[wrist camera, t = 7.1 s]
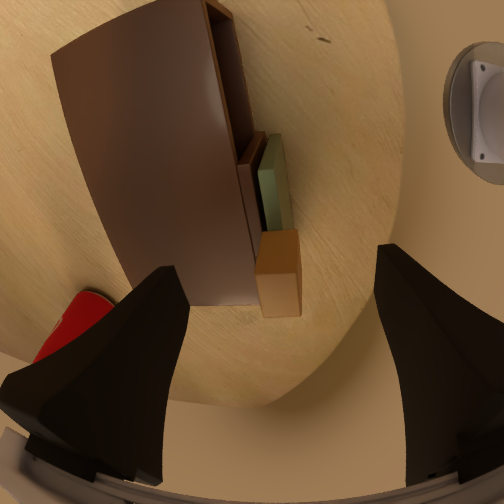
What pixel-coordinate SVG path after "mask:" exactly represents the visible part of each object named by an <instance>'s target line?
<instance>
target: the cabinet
mask: <svg viewBox="0 0 504 504" xmlns="http://www.w3.org/2000/svg"><path fill="white" fill-rule="evenodd" d="M51 61H52V66H53V71H54V76H55V80H56V85H57V89H58V93H59V97H60V101H61V105H62V109H63V112H64V116H65V120H66V123H67V127H68V130H69V133H70V137H71V140H72V143H73V146H74V149H75V153H76V156H77V159H78V162H79V164H80V167H81V170H82V173H83V176H84V179H85V181H86V184H87V187H88V189H89V192H90V195H91V197H92V200H93V202H94V205H95V207H96V210H97V212H98V215H99V217H100V220H101V222H102V224H103V227H104V229H105V231H106V234H107V236H108V238H109V240H110V243H111V245H112V247H113V249H114V251H115V254H116V256H117V258H118V260H119V262H120V264H121V266H122V268H123V270H124V272H125V274H126V276H127V278H128V280H129V282H130V284H131V286H132V288H133V289H134V288H135V287H136V286H138V285H139V284H140V283H141V282H142V281H143V280H144V279H145V278H146V277H147V276H148V275H150V274H151V273H152V272H153V271H154V270H155V269H157V268H158V267H160V266H171V265H174V267H175V269H176V272H177V275H178V277H179V280H180V282H181V285H182V287H183V290H184V292H185V295H186V297H187V300H188V302H189V305H190V306H236V305H260V301H259V296H258V291H257V287H256V282H255V278H254V271H255V266H256V261H257V256H258V251H259V246H260V241H261V236H262V232H265V231H268V230H267V224H266V218H265V212H264V206H263V200H262V195H261V189H260V183H259V177H258V169H259V166H260V163H261V160H262V157H263V154H264V151H265V149H266V146H267V142H266V136H265V132H264V131H262V132H256V133H255V129H254V124H253V118H252V113H251V107H250V102H249V97H248V91H247V86H246V81H245V76H244V71H243V66H242V60H241V55H240V50H239V45H238V40H237V36H236V31H235V26H234V21H233V16H232V13H231V12H230V11H229V10H228V9H226V8H225V7H224V6H223V5H222V4H220V3H219V2H218V1H217V0H157V1H154V2H151V3H149V4H146V5H144V6H141V7H139V8H136V9H134V10H132V11H129V12H127V13H125V14H123V15H121V16H118V17H116V18H114V19H112V20H110V21H108V22H106V23H104V24H102V25H100V26H98V27H96V28H94V29H93V30H91V31H89V32H87V33H85V34H83V35H82V36H80V37H78V38H77V39H75V40H73V41H72V42H70V43H68V44H67V45H65V46H63V47H62V48H60V49H59V50H57V51H56V52H54V53H53V54H51Z"/></svg>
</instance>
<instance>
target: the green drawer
mask: <svg viewBox="0 0 504 504" xmlns="http://www.w3.org/2000/svg"><path fill="white" fill-rule="evenodd" d="M258 177H259V183H260V189H261V195H262V200H263V206H264V212H265V218H266V224H267V230H268V231H265V232H262V236H261V241H260V246H259V251H258V256H257V261H256V266H255V271H254V278H255V282H256V287H257V291H258V296H259V301H260V305H261V310H262V315H263V317H264V318H278V317H300V316H301V315H302V265H301V255H300V245H299V235H298V230H297V229H294V226H293V217H292V209H291V201H290V193H289V185H288V178H287V170H286V163H285V156H284V149H283V142H282V135H281V134H274V135H270V137H269V140H268V143H267V146H266V149H265V151H264V154H263V157H262V160H261V163H260V166H259V169H258Z"/></svg>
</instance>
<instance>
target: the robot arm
mask: <svg viewBox="0 0 504 504" xmlns="http://www.w3.org/2000/svg"><path fill="white" fill-rule="evenodd" d="M480 65H482V67H483V70H481V68H480ZM470 68H471V83H472V139H471V159H472V160H473V161H475V162H484V163H499V164H504V67H502V66H499V65H495V64H491V63H487V62H483V61H478V60H472V61H471V63H470ZM481 153H482V157H481V158H480V154H481ZM374 295H375V300H376V304H377V308H378V313H379V317H380V319H381V323H382V326H383V329H384V332H385V335H386V338H387V341H388V344H389V347H390V350H391V353H392V356H393V359H394V362H395V366H396V369H397V373H398V378H399V384H400V390H401V396H402V404H403V412H404V422H405V436H406V487H405V488H401V489H396V490H392V491H388V492H383V493H378V494H372V495H367V496H362V497H354V498H347V499H339V500H329V501H318V502H300V503H254V502H253V503H252V502H238V501H226V500H216V499H208V498H201V497H194V496H188V495H182V494H177V493H171V492H167V491H162V490H157V489H153V488H149V487H145V486H141V485H137V484H134V483H130V482H127V481H124V480H128V481H131V482H134V481H135V482H139V483H143V484H146V485H151V486H157V485H159V484H161V483H162V482H163V478H162V449H163V432H164V422H165V414H166V407H167V400H168V394H169V388H170V384H171V380H172V376H173V373H174V370H175V366H176V363H177V360H178V356H179V353H180V350H181V347H182V343H183V340H184V336H185V333H186V329H187V324H188V318H189V311H190V305H189V302H188V300H187V297H186V295H185V292H184V290H183V287H182V285H181V282H180V280H179V277H178V275H177V272H176V269H175V267H174V265H171V266H160V267H158V268H157V269H155V270H154V271H153V272H152V273H151V274H150V275H148V276H147V277H146V278H145V279H144V280H143V281H142V282H141V283H140V284H139V285H138V286H136V287H135V288H134V289H133V290H132V291H131V292H130V293H129V294H128V295H127V296H126V297H125V298H124V299H123V300H121V301H120V302H119V303H118V304H117V305H116V306H115V307H114V308H112V309H111V310H110V311H109V312H108V313H107V314H106V315H105V316H103V317H102V318H101V319H100V320H99V321H98V322H96V323H95V324H94V325H93V326H91V327H90V328H89V329H87V330H86V331H85V332H84V333H82V334H81V335H79V336H78V337H77V338H75V339H74V340H72V341H71V342H69V343H68V344H66V345H65V346H63V347H62V348H60V349H59V350H57V351H55V352H54V353H52V354H50V355H48V356H47V357H45V358H43V359H41V360H39V361H37V362H35V363H33V364H31V365H29V366H27V367H25V368H22V369H20V370H18V371H15V372H13V373H10V374H8V375H7V377H6V378H5V380H4V381H3V383H2V385H1V387H0V409H1V410H2V411H3V412H4V413H5V414H7V415H8V416H9V417H10V418H11V419H13V420H14V421H15V422H16V423H18V424H19V425H20V426H21V427H23V428H24V429H25V430H27V431H28V432H29V433H30V436H29V438H26V437H25V436H23V435H21V434H20V433H18V432H16V431H14V430H12V429H11V428H9V427H5V430H4V432H3V434H2V437H1V439H0V486H1V487H2V488H3V489H5V490H6V491H7V492H8V493H9V494H10V495H11V496H12V497H13V498H14V499H15V500H16V501H17V502H19V503H20V504H134V503H135V504H504V323H503V322H501V321H499V320H497V319H495V318H494V317H492V316H490V315H488V314H487V313H485V312H483V311H482V310H480V309H479V308H477V307H476V306H474V305H473V304H471V303H470V302H468V301H467V300H465V299H464V298H462V297H461V296H459V295H458V294H456V293H455V292H454V291H453V290H451V289H450V288H449V287H447V286H446V285H445V284H443V283H442V282H441V281H439V280H438V279H437V278H436V277H435V276H433V275H432V274H431V273H430V272H428V271H427V270H426V269H425V268H424V267H422V266H421V265H420V264H419V263H418V262H416V261H415V260H414V259H413V258H412V257H410V256H409V255H408V254H407V253H406V252H404V251H403V250H402V249H401V248H400V247H398V246H397V245H395V244H384V245H378V250H377V262H376V273H375V283H374Z"/></svg>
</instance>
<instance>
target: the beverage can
mask: <svg viewBox="0 0 504 504" xmlns="http://www.w3.org/2000/svg"><path fill="white" fill-rule="evenodd" d="M114 307H115V306H114V304H113V303H112V302H111V301H110V300H108V299H107V298H106V297H104V296H102V295H100V294H98V293H95V292H90V291H82V292H79V293H78V294H77V295H76V296H75V298H74V299H73V301H72V302H71V304H70V305H69V307H68V308H67V309H66V311H65V312H64V314H63V315H62V317H61V318H60V320H59V321H58V323H57V324H56V326H55V327H54V329H53V330H52V332H51V334H50V335H49V337H48V338H47V340H46V341H45V343H44V345H43V346H42V348H41V350H40V351H39V353H38V355H37V356H36V358H35V360H34V361H33V363H35V362H37V361H39V360H41V359H43V358H45V357H47V356H48V355H50V354H52V353H54V352H55V351H57V350H59V349H60V348H62V347H63V346H65V345H66V344H68V343H69V342H71V341H72V340H74V339H75V338H77V337H78V336H79V335H81V334H82V333H84V332H85V331H86V330H87V329H89V328H90V327H91V326H93V325H94V324H95V323H96V322H98V321H99V320H100V319H101V318H102V317H103V316H105V315H106V314H107V313H108V312H109V311H110V310H111V309H112V308H114Z"/></svg>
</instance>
